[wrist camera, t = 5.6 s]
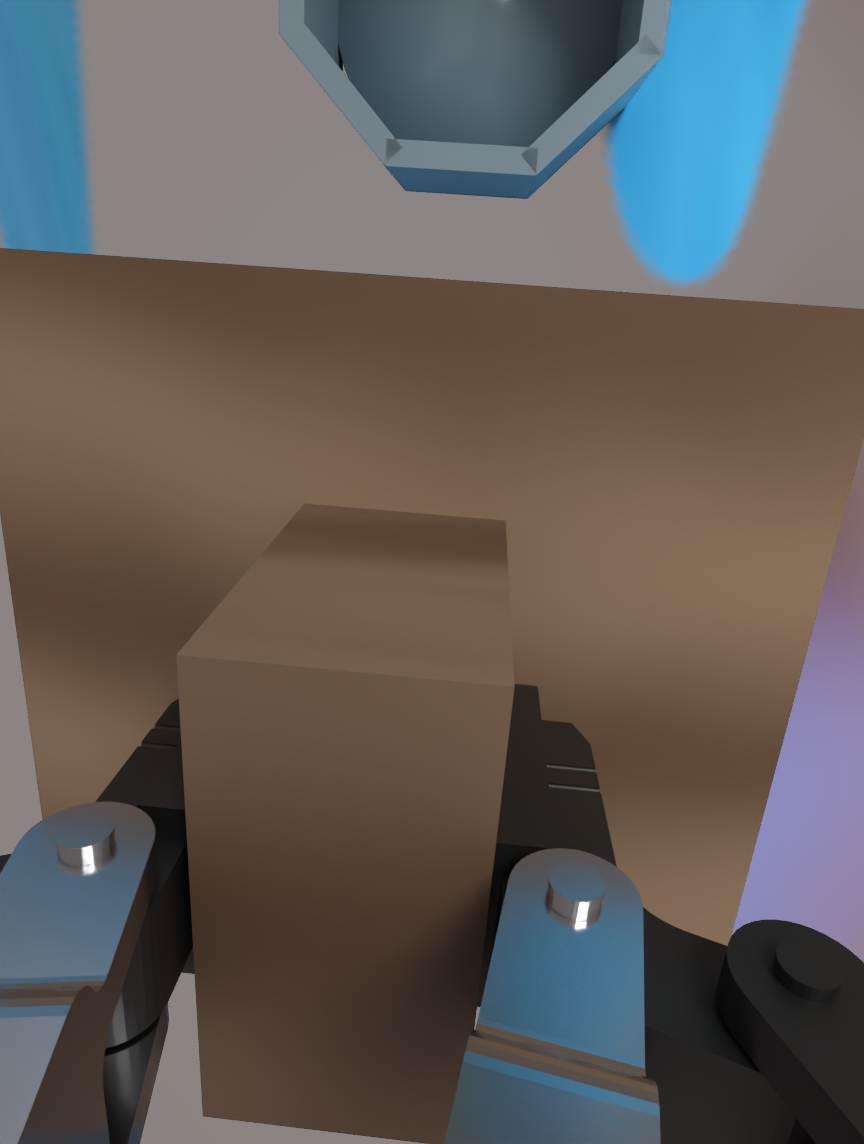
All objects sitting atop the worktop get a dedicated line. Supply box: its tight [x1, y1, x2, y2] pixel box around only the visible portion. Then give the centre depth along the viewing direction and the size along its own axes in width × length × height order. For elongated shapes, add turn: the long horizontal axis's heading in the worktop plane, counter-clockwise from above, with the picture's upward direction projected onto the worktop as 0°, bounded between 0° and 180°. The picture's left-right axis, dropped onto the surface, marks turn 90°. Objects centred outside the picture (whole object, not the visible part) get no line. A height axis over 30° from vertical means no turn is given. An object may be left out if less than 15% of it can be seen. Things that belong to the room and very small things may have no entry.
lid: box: [0, 248, 864, 1144], centre depth 11 cm, size 12×12×6 cm
